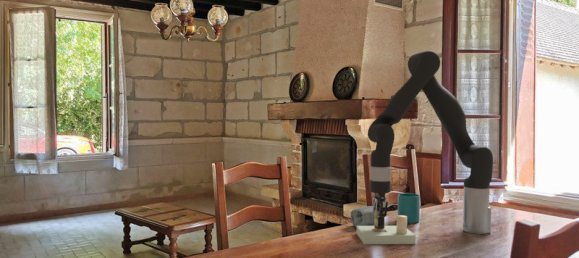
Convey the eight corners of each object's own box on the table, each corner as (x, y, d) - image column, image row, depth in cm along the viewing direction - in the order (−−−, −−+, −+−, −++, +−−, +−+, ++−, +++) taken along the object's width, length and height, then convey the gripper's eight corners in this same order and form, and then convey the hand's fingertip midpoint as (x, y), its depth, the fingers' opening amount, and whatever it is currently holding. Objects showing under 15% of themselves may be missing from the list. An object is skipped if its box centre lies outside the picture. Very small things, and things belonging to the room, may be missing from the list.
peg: (383, 233, 170) (383, 209, 170) (385, 236, 167) (385, 211, 166) (373, 233, 170) (373, 209, 170) (375, 236, 167) (375, 211, 166)
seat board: (403, 233, 176) (404, 209, 176) (415, 243, 162) (415, 218, 162) (356, 233, 175) (356, 210, 175) (364, 244, 161) (364, 218, 161)
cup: (428, 220, 198) (428, 194, 197) (410, 224, 190) (411, 197, 190) (410, 216, 205) (410, 191, 204) (393, 220, 197) (393, 194, 197)
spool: (358, 223, 178) (358, 198, 182) (345, 229, 185) (345, 205, 190) (388, 229, 182) (387, 205, 187) (374, 235, 190) (373, 211, 195)
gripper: (395, 181, 161) (395, 231, 161) (385, 176, 175) (385, 221, 176) (374, 181, 161) (373, 231, 161) (365, 176, 175) (365, 221, 175)
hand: (379, 225), depth 168 cm, fingers closed on peg, 3 cm apart
